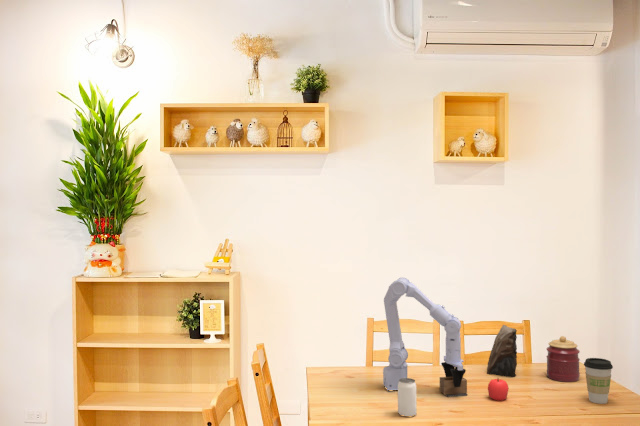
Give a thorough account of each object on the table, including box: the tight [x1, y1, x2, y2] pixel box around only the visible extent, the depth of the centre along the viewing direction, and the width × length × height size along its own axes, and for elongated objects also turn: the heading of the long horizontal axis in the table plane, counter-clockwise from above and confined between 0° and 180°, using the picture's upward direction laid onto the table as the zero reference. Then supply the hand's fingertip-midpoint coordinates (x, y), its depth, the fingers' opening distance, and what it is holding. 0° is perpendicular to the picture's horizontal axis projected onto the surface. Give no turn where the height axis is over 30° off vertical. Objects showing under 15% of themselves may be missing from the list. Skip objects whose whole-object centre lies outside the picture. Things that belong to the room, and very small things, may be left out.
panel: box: [441, 392, 468, 398], centre depth 231 cm, size 8×8×4 cm
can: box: [397, 377, 417, 417], centre depth 208 cm, size 6×6×12 cm
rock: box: [486, 324, 518, 378], centre depth 257 cm, size 13×13×20 cm
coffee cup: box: [583, 357, 614, 405], centre depth 220 cm, size 10×10×15 cm
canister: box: [546, 335, 581, 383], centre depth 250 cm, size 13×13×18 cm
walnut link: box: [439, 376, 468, 395], centre depth 231 cm, size 9×6×5 cm, turn 99°
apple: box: [487, 377, 510, 402], centre depth 224 cm, size 8×8×8 cm
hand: (453, 383), depth 231 cm, fingers open, 7 cm apart
